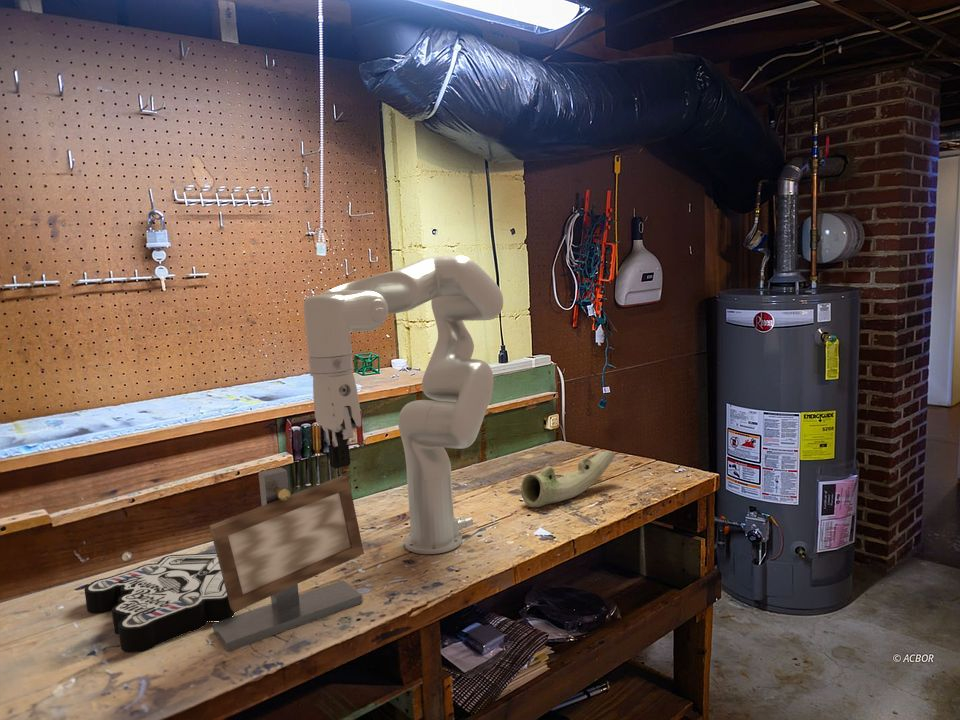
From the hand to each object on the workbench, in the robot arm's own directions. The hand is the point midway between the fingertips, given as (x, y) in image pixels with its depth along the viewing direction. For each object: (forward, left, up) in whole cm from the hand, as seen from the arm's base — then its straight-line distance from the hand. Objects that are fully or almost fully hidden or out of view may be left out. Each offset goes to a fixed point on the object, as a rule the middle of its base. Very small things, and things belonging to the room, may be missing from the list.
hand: (340, 465), depth 123 cm
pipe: (-67, -12, -25) cm, 73 cm away
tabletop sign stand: (+11, -1, -25) cm, 28 cm away
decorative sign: (+23, -21, -26) cm, 40 cm away
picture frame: (+9, 0, -18) cm, 21 cm away
